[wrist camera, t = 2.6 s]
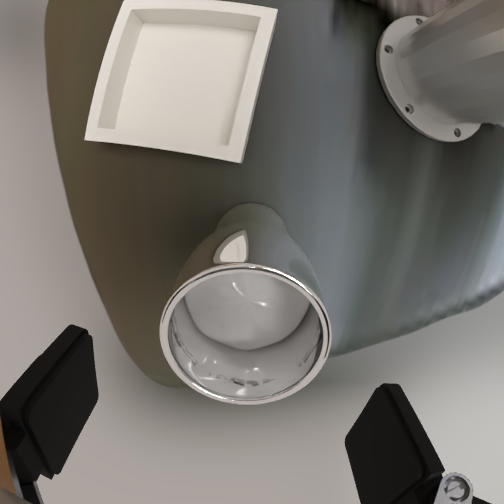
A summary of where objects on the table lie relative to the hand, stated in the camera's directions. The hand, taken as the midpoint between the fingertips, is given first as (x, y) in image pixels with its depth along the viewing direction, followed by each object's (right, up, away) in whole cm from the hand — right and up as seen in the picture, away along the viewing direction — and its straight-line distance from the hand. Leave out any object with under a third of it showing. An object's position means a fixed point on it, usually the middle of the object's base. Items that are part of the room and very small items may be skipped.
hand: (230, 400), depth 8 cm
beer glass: (+1, +6, +17) cm, 18 cm away
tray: (-5, +19, +12) cm, 23 cm away
